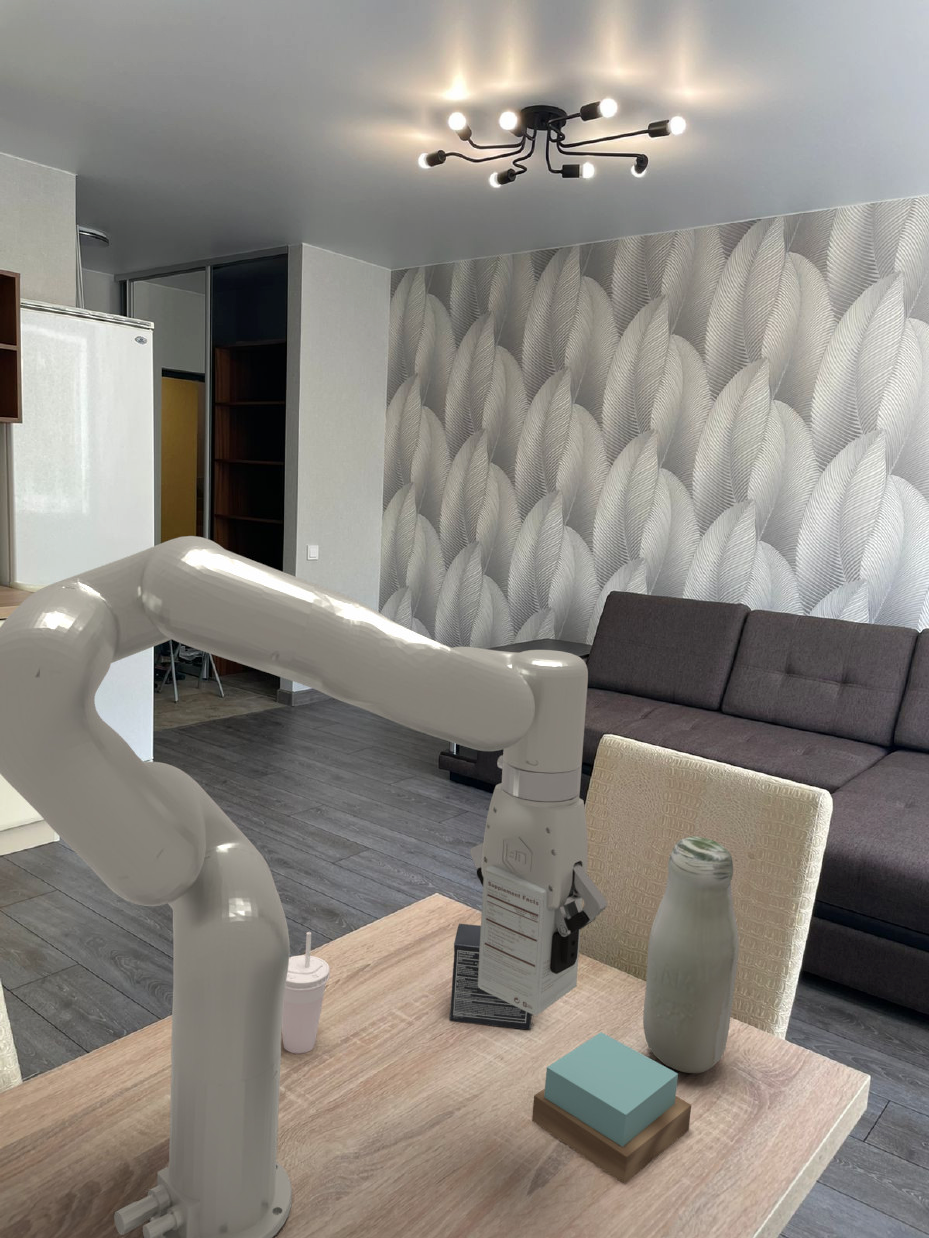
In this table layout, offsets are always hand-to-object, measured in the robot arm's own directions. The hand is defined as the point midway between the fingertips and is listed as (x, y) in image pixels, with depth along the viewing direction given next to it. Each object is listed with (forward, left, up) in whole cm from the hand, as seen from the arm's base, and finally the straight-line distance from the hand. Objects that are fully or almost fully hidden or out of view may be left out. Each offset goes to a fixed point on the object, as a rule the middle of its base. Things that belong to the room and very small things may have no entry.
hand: (529, 950), depth 91 cm
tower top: (+11, -4, -19) cm, 22 cm away
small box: (+17, +19, -23) cm, 34 cm away
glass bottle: (+27, -3, -22) cm, 35 cm away
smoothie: (-6, +29, -22) cm, 37 cm away
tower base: (+11, -4, -23) cm, 26 cm away
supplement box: (0, 0, -4) cm, 4 cm away
